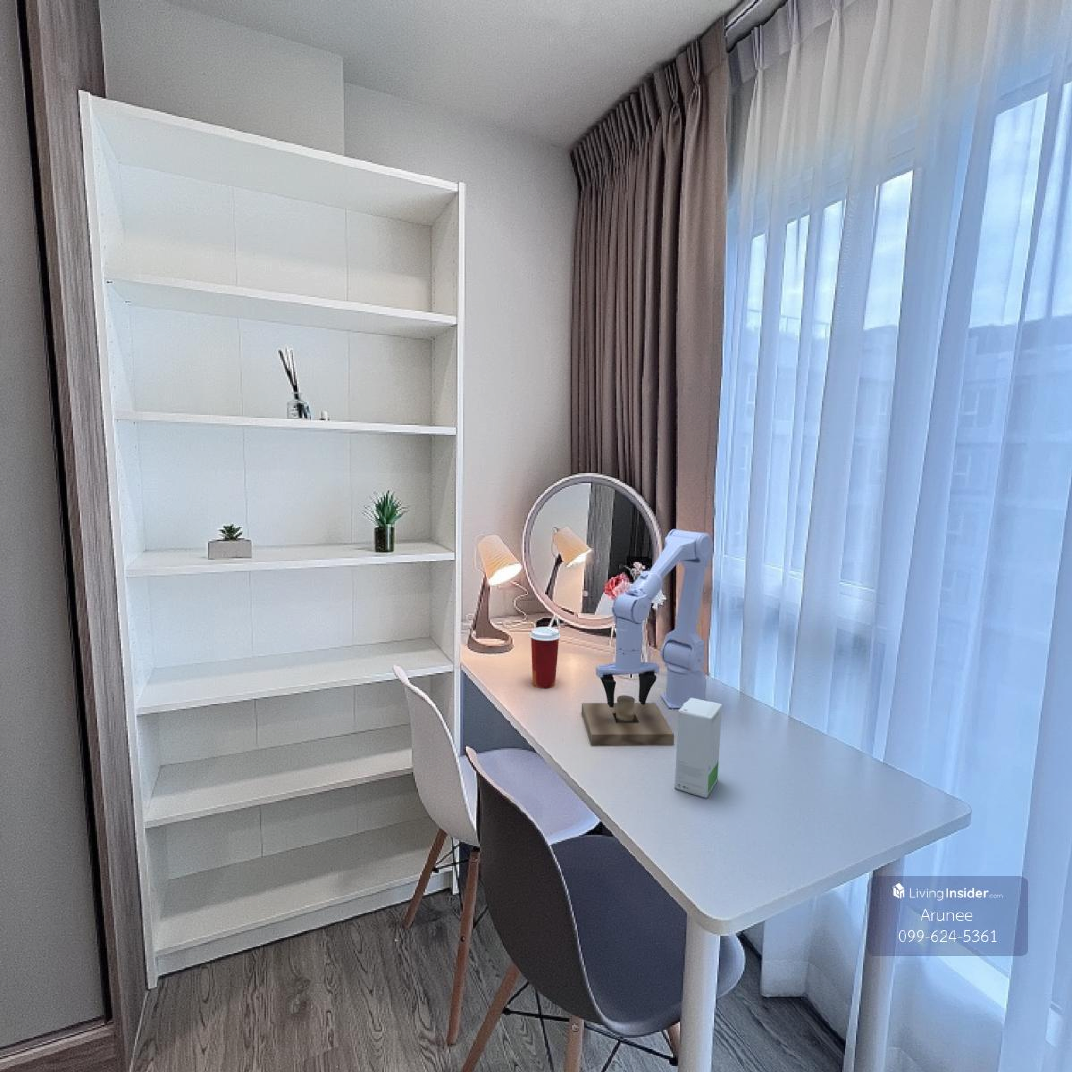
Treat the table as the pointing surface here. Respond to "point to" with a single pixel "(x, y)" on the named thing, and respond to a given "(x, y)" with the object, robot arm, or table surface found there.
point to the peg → (625, 709)
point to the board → (626, 725)
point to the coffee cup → (544, 656)
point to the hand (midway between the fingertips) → (626, 704)
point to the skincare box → (698, 746)
